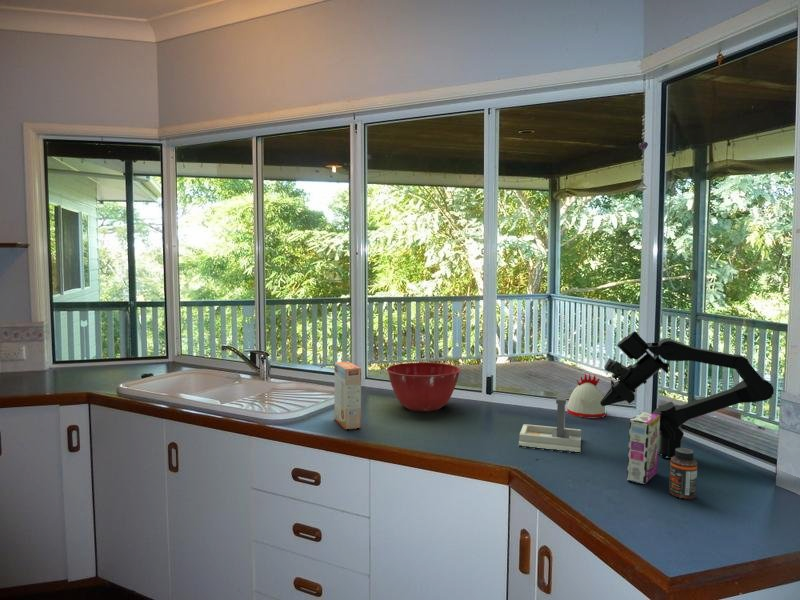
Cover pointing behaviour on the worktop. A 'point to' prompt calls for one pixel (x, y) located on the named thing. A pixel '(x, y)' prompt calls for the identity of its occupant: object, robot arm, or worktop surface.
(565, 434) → the slide lever
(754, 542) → the worktop surface
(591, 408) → the kitchen timer
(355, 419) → the cracker box
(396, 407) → the worktop surface
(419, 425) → the worktop surface
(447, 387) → the mixing bowl
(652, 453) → the candy bar box
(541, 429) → the tray
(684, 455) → the supplement bottle
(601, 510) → the worktop surface
